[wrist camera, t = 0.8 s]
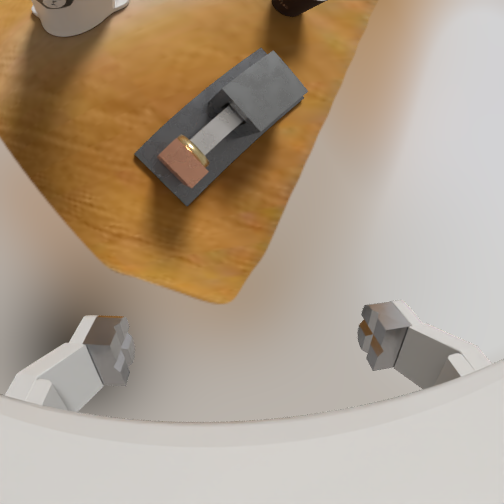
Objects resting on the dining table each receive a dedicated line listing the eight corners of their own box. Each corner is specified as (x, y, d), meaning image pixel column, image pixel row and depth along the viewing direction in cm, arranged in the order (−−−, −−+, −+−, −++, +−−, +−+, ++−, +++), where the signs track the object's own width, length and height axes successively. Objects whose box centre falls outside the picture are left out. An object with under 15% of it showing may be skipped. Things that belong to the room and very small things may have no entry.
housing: (186, 205, 48) (195, 215, 39) (134, 154, 43) (130, 150, 34) (301, 98, 49) (332, 88, 40) (259, 49, 44) (282, 28, 35)
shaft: (183, 184, 45) (191, 188, 37) (156, 157, 43) (158, 154, 34) (260, 113, 46) (284, 103, 38) (236, 86, 43) (255, 71, 35)
